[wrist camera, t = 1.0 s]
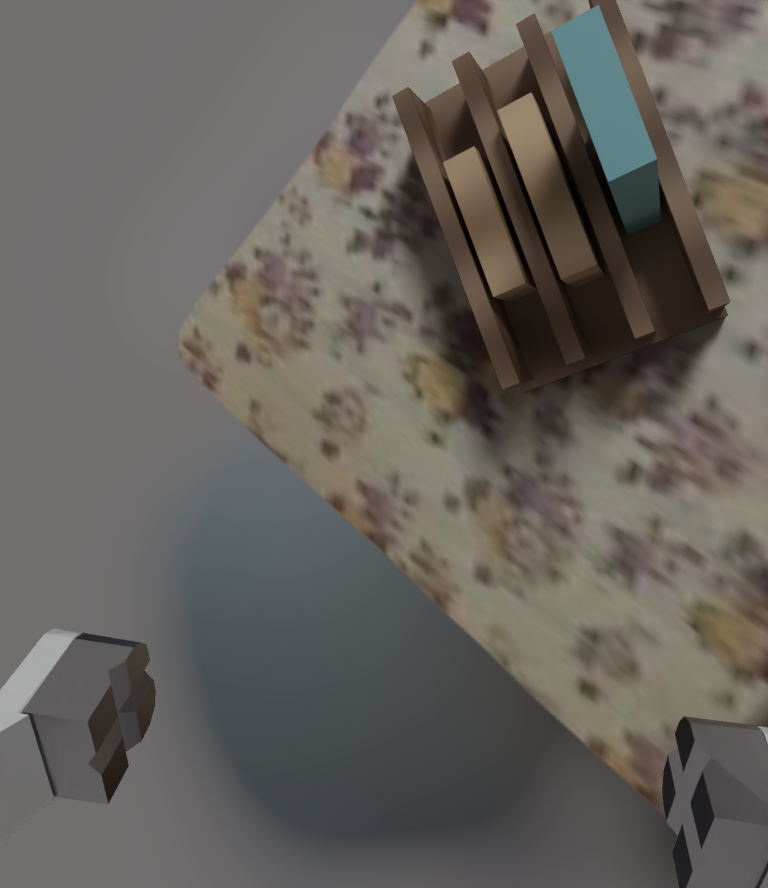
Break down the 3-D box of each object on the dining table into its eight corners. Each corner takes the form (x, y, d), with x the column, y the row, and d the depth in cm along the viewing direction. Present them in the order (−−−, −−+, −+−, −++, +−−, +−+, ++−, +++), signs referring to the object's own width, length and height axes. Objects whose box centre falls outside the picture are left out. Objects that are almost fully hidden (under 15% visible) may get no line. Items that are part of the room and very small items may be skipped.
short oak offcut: (518, 139, 42) (497, 110, 37) (548, 124, 41) (531, 92, 36) (574, 288, 42) (560, 279, 36) (605, 274, 41) (596, 264, 36)
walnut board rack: (420, 117, 45) (388, 87, 40) (609, 11, 41) (601, -38, 35) (524, 392, 45) (505, 398, 40) (725, 316, 40) (734, 311, 35)
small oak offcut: (464, 180, 43) (442, 162, 39) (493, 166, 42) (473, 146, 38) (510, 302, 43) (493, 297, 39) (539, 289, 42) (525, 282, 38)
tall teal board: (589, 133, 40) (551, 31, 27) (621, 117, 40) (598, 4, 27) (627, 235, 40) (608, 181, 27) (661, 221, 40) (657, 159, 27)
